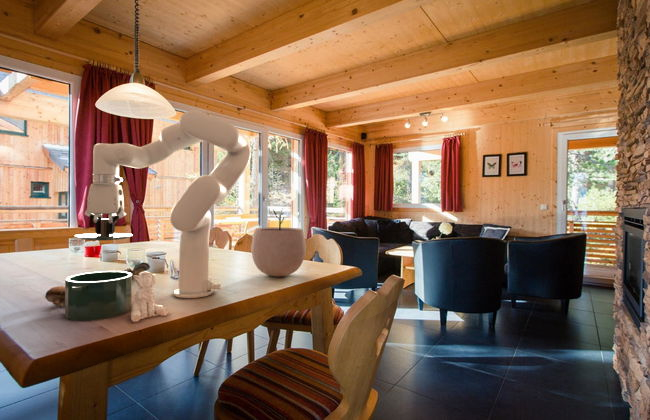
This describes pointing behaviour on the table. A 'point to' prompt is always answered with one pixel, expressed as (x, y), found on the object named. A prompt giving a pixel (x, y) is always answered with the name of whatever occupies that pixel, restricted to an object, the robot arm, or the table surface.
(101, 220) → the lid
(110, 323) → the table surface
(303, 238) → the plant pot
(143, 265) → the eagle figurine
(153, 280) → the seated beast figurine
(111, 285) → the pot
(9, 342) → the table surface
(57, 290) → the mushroom
